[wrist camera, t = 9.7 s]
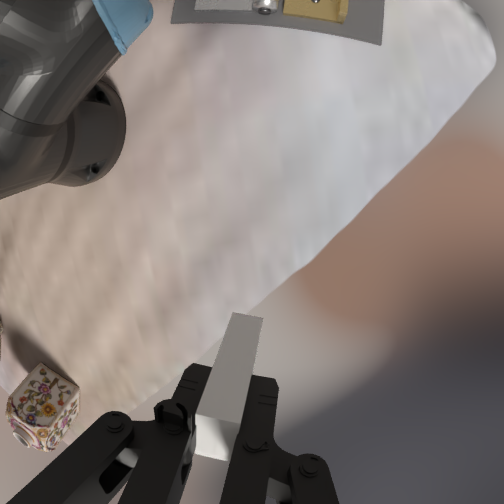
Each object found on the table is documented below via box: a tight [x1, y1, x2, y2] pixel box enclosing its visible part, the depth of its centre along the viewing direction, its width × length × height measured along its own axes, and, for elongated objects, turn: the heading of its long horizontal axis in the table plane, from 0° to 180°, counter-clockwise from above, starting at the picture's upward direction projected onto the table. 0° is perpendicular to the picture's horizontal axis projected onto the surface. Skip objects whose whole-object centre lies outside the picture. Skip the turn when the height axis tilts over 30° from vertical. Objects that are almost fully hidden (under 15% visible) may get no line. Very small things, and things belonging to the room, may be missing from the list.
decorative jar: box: [6, 363, 80, 451], centre depth 51 cm, size 12×12×18 cm
